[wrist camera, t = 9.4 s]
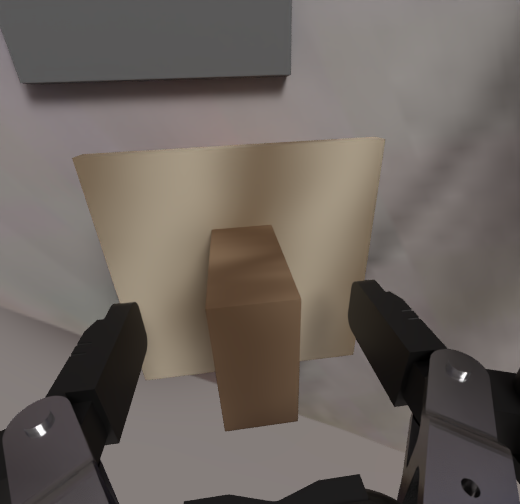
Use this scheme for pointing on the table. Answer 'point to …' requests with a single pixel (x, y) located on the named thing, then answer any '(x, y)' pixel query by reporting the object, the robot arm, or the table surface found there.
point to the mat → (146, 39)
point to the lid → (238, 258)
